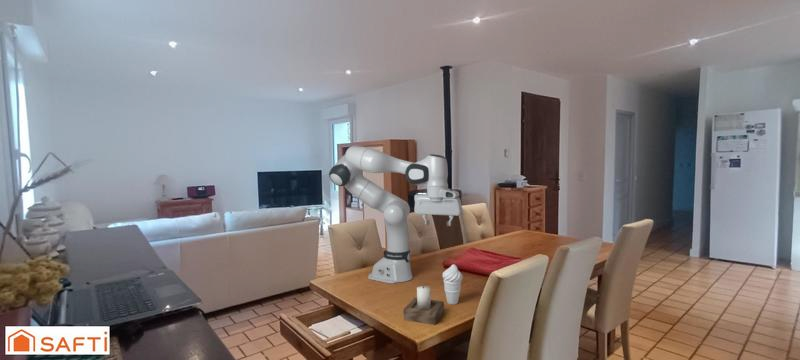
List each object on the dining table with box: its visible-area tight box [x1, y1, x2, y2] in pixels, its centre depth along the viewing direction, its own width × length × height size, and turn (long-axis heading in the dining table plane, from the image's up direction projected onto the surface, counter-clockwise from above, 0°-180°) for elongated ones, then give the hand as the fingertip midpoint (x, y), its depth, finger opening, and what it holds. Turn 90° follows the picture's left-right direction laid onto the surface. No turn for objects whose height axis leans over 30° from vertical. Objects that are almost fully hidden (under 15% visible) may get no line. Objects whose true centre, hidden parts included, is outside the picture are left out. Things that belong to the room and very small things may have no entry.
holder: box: [403, 297, 445, 325], centre depth 139 cm, size 12×12×4 cm
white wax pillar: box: [416, 285, 431, 310], centre depth 139 cm, size 5×5×8 cm
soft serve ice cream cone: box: [441, 263, 464, 305], centre depth 151 cm, size 8×8×16 cm
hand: (437, 225), depth 156 cm, fingers open, 8 cm apart
